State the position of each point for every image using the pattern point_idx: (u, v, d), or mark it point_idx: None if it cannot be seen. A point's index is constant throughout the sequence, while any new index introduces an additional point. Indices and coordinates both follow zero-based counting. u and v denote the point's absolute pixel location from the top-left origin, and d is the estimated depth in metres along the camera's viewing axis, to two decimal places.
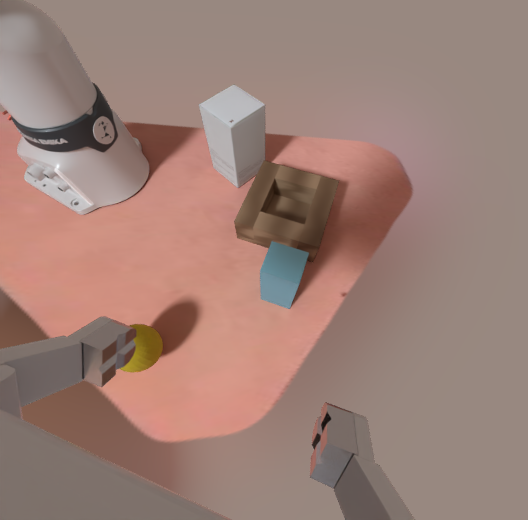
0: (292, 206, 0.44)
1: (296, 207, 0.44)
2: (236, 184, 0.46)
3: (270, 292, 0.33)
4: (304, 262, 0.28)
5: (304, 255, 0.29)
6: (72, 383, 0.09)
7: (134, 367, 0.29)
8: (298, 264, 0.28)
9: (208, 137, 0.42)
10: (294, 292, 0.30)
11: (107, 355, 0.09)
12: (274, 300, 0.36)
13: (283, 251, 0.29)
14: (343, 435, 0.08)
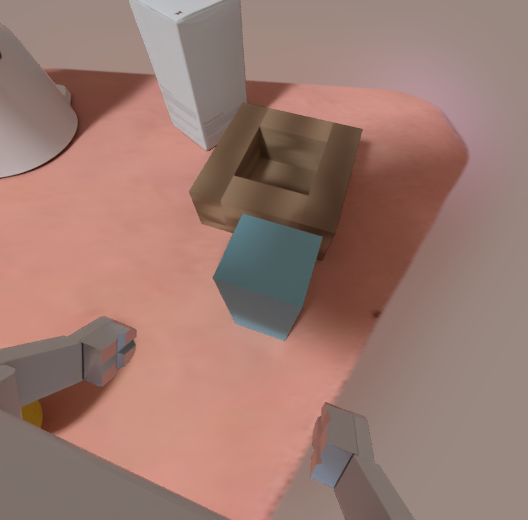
0: (288, 174, 0.28)
1: (294, 176, 0.28)
2: (203, 144, 0.30)
3: (247, 316, 0.18)
4: (313, 257, 0.13)
5: (312, 242, 0.13)
6: (72, 383, 0.09)
7: None
8: (301, 261, 0.13)
9: (153, 64, 0.27)
10: (292, 321, 0.15)
11: (107, 355, 0.09)
12: (257, 327, 0.20)
13: (267, 234, 0.13)
14: (343, 435, 0.08)
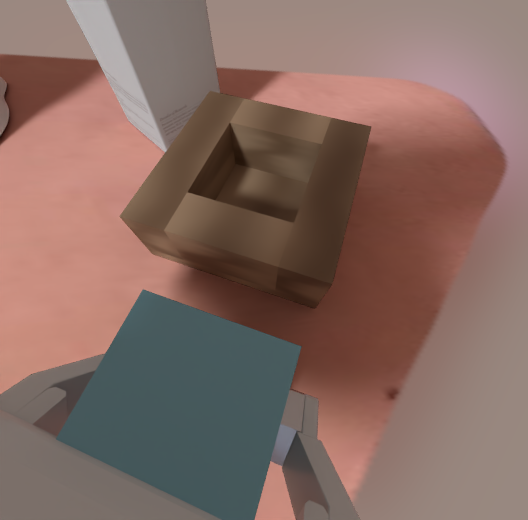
0: (271, 186, 0.21)
1: (280, 189, 0.21)
2: (163, 147, 0.23)
3: None
4: (278, 403, 0.06)
5: (279, 360, 0.06)
6: None
7: None
8: (251, 414, 0.06)
9: (88, 39, 0.20)
10: None
11: None
12: None
13: (185, 340, 0.06)
14: (290, 414, 0.08)
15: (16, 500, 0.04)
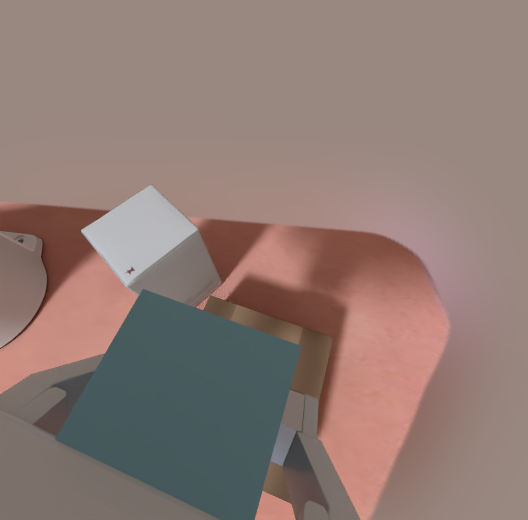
0: None
1: None
2: None
3: None
4: (278, 402, 0.06)
5: (280, 360, 0.06)
6: None
7: None
8: (251, 414, 0.06)
9: None
10: None
11: None
12: None
13: (185, 339, 0.06)
14: (290, 414, 0.08)
15: (16, 500, 0.04)
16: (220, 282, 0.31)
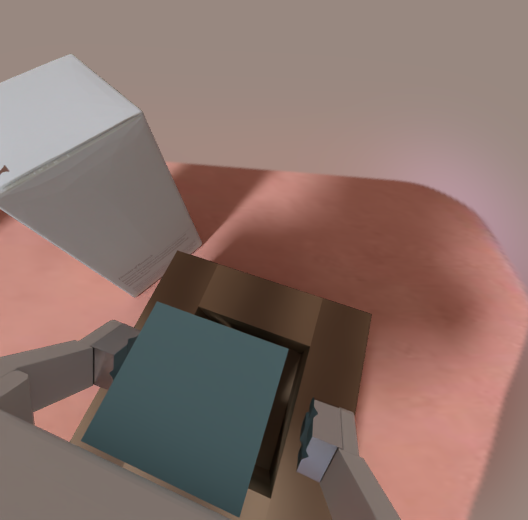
0: None
1: None
2: (128, 292, 0.20)
3: None
4: (268, 395, 0.07)
5: (270, 360, 0.07)
6: (83, 388, 0.09)
7: None
8: (246, 404, 0.07)
9: None
10: None
11: (118, 360, 0.09)
12: None
13: (192, 343, 0.08)
14: (329, 430, 0.08)
15: (16, 500, 0.04)
16: (199, 242, 0.22)
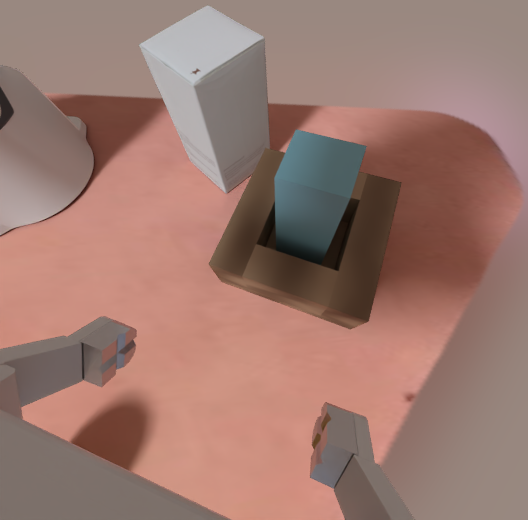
0: None
1: None
2: (223, 188, 0.28)
3: (292, 233, 0.20)
4: (358, 161, 0.15)
5: (357, 150, 0.15)
6: (72, 383, 0.09)
7: None
8: (348, 165, 0.15)
9: (169, 110, 0.24)
10: (335, 225, 0.17)
11: (107, 355, 0.09)
12: (297, 251, 0.23)
13: (317, 145, 0.16)
14: (343, 435, 0.08)
15: (16, 500, 0.04)
16: None
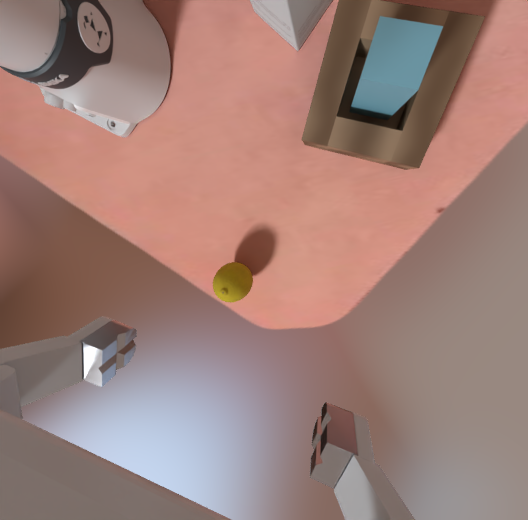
0: None
1: None
2: (295, 46, 0.30)
3: (366, 103, 0.26)
4: (432, 48, 0.19)
5: (434, 34, 0.18)
6: (72, 383, 0.09)
7: None
8: (422, 54, 0.19)
9: None
10: (404, 101, 0.23)
11: (107, 355, 0.09)
12: (368, 112, 0.29)
13: (398, 33, 0.19)
14: (343, 435, 0.08)
15: (16, 500, 0.04)
16: None
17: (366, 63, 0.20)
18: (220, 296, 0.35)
